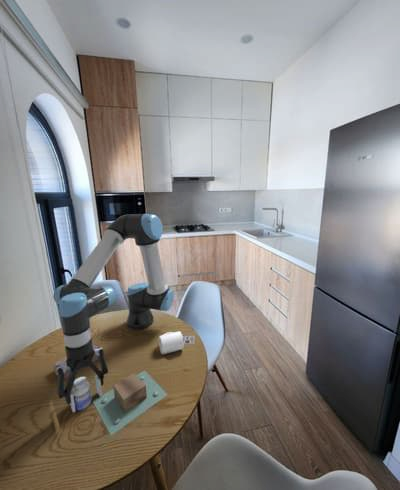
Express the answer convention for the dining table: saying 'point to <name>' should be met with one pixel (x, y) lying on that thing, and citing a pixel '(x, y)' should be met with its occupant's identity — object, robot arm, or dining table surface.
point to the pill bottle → (81, 393)
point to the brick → (67, 371)
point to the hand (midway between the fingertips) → (87, 401)
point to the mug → (171, 342)
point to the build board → (116, 416)
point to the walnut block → (130, 392)
